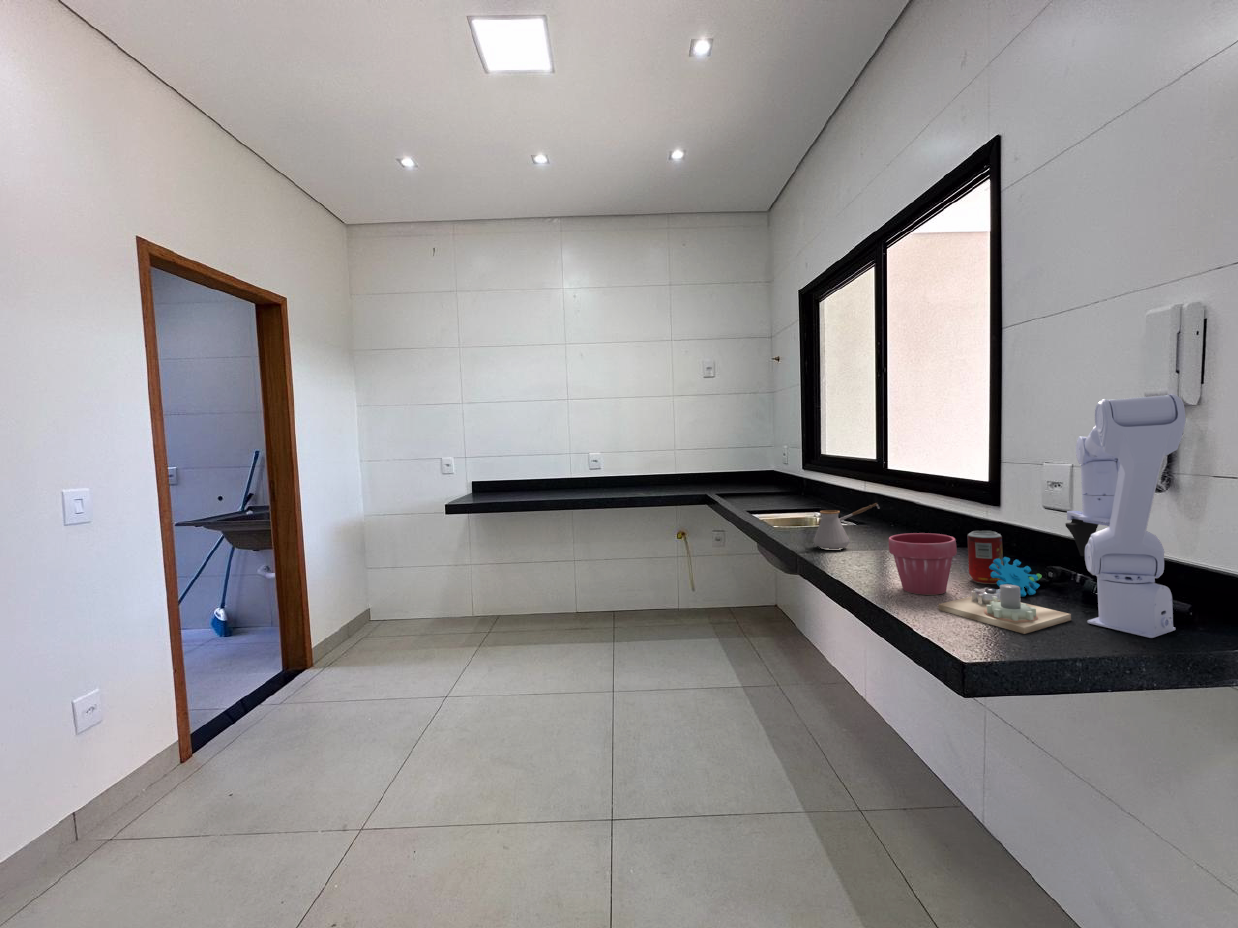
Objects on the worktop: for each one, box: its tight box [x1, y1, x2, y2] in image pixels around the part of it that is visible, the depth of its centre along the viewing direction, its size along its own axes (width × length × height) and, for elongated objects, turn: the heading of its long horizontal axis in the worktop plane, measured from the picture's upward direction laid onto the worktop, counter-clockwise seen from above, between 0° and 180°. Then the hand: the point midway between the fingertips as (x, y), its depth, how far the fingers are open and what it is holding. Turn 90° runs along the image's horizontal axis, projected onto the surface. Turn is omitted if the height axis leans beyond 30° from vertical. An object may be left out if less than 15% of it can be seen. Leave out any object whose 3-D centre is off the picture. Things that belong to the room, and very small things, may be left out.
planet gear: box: [987, 584, 1036, 621], centre depth 104 cm, size 8×8×6 cm
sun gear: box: [970, 587, 1001, 605], centre depth 113 cm, size 7×7×3 cm
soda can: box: [966, 530, 1004, 585], centre depth 131 cm, size 7×7×12 cm
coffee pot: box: [813, 502, 881, 549], centre depth 178 cm, size 21×12×15 cm, turn 78°
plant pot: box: [888, 532, 958, 596], centre depth 127 cm, size 14×14×13 cm
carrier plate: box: [938, 595, 1072, 635], centre depth 108 cm, size 17×14×1 cm
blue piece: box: [989, 556, 1043, 598], centre depth 123 cm, size 11×6×10 cm
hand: (1102, 559), depth 109 cm, fingers open, 7 cm apart
